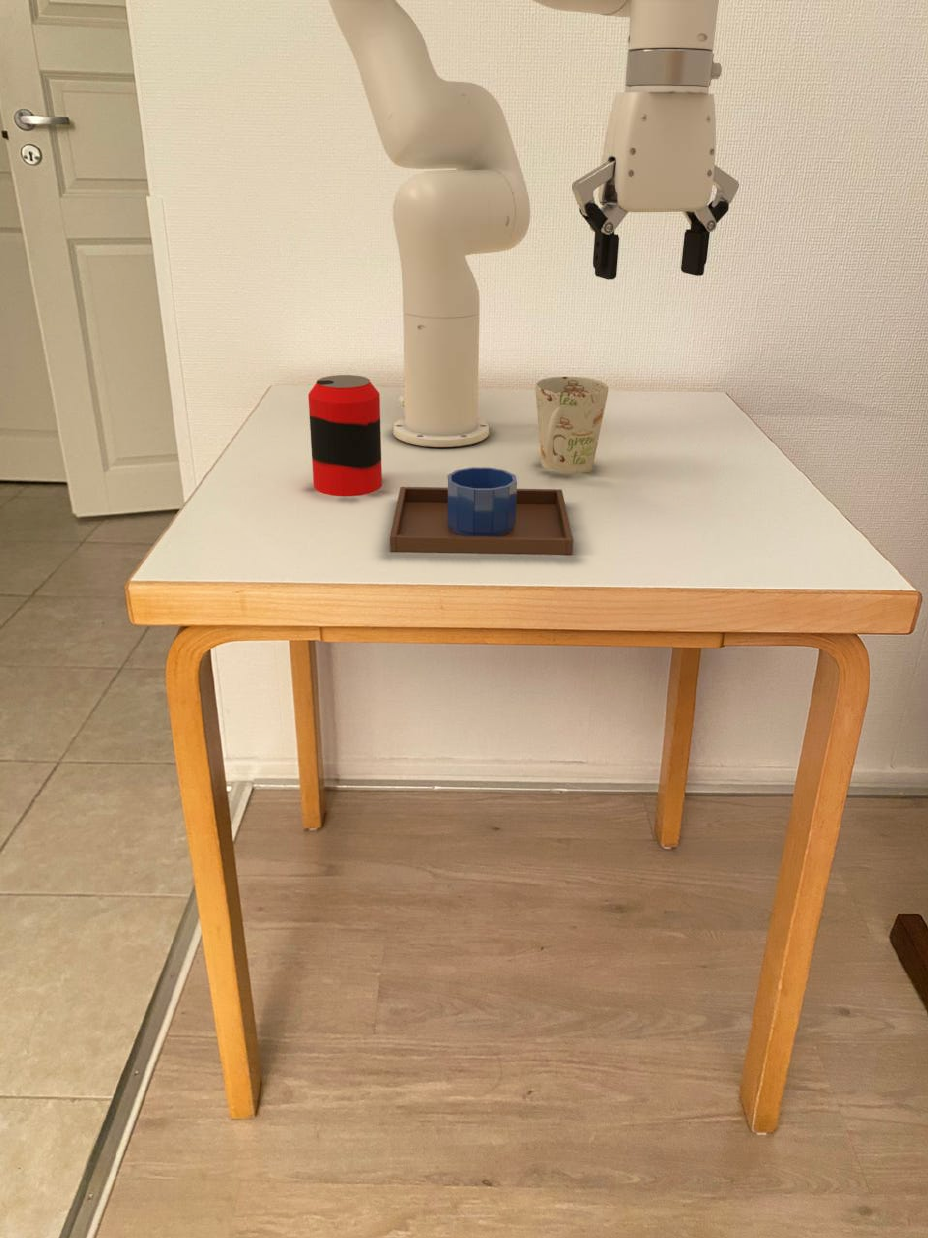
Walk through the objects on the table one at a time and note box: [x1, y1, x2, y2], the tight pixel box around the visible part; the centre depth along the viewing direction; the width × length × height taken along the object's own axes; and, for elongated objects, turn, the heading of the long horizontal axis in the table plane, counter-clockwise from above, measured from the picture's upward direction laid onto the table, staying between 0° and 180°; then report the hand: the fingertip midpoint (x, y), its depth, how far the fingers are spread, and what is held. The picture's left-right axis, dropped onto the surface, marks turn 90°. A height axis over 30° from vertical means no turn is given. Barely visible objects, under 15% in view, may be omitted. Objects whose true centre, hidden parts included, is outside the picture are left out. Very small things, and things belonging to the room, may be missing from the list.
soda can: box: [307, 374, 383, 497], centre depth 106 cm, size 8×8×12 cm
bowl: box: [446, 466, 518, 537], centre depth 97 cm, size 7×7×5 cm
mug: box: [535, 376, 609, 474], centre depth 112 cm, size 8×13×10 cm, turn 161°
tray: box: [389, 486, 574, 556], centre depth 98 cm, size 17×14×2 cm
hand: (649, 275), depth 95 cm, fingers open, 9 cm apart
